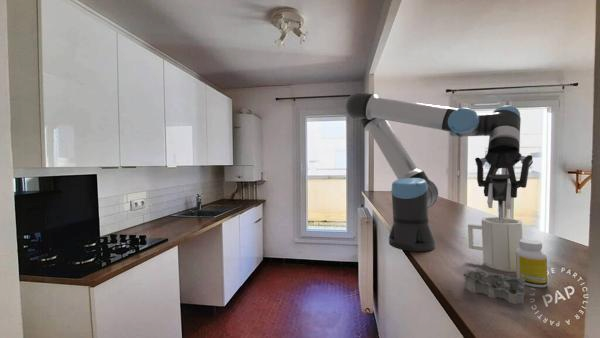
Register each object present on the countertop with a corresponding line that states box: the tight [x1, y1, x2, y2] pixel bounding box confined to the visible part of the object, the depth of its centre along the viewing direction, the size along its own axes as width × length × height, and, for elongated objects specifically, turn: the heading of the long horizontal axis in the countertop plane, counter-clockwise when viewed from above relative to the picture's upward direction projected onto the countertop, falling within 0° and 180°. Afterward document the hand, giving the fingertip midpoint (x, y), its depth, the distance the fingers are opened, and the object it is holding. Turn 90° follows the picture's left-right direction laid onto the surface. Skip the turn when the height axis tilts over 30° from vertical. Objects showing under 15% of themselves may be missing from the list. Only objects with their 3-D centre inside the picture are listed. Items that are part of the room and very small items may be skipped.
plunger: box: [489, 173, 511, 223], centre depth 69 cm, size 6×6×20 cm
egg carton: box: [463, 268, 525, 305], centre depth 56 cm, size 11×8×4 cm
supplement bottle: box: [515, 238, 548, 288], centre depth 59 cm, size 5×5×10 cm
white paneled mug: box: [467, 216, 523, 273], centre depth 71 cm, size 12×8×12 cm
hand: (498, 205), depth 66 cm, fingers closed on plunger, 3 cm apart
